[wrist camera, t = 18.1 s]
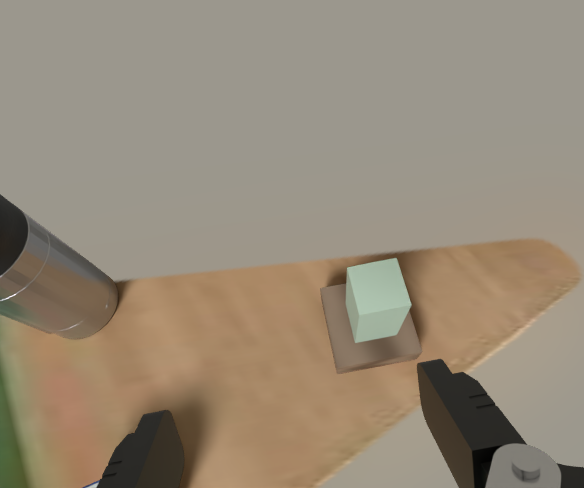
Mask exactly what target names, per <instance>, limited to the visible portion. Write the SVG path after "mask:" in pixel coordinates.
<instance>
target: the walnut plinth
mask: <svg viewBox="0 0 584 488" xmlns="http://www.w3.org/2000/svg"><path fill="white" fill-rule="evenodd" d="M320 291H321V299H322V304H323V309H324V314H325V319H326V323H327V328H328V333H329V338H330V342H331V347H332V352H333V357H334V361H335V366H336V371H337V374H342V373H347V372H352V371H357V370H363V369H368V368H373V367H378V366H384V365H389V364H394V363H400V362H405V361H410V360H415V359H417V357H418V356H419V355H420V354H421V353H422V349H421V346H420V343H419V340H418V337H417V333H416V330H415V327H414V324H413V321H412V317H411V314H410V311H408V313H407V315H406V317H405V319H404V321H403V323H402V325H401V327H400V329H399V331H398V333H397V335H394V336H389V337H384V338H379V339H374V340H369V341H363V342H358V343H355V341H354V336H353V332H352V328H351V324H350V320H349V316H348V312H347V307H346V283H345V284H340V285H335V286H329V287H324V288H320Z"/></svg>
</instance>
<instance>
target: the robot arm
mask: <svg viewBox="0 0 584 488" xmlns="http://www.w3.org/2000/svg"><path fill="white" fill-rule="evenodd" d="M117 302H118V290H117V287H116V285H115V283H114V281H113V280H112V279H111V278H110V277H109V276H107V275H106V274H105V273H103V272H102V271H101V270H99V269H98V268H97V267H96V266H94V265H93V264H92V263H90V262H89V261H88V260H86V259H85V258H84V257H83V256H81V255H80V254H78V253H77V252H76V251H75V250H73V249H72V248H71V247H69V246H68V245H67V244H65V243H64V242H62V241H61V240H60V239H59V238H57V237H56V236H55V235H53V234H52V233H51V232H49V231H48V230H47V229H45V228H44V227H43V226H41V225H40V224H39V223H37V222H36V221H35V220H33V219H32V218H31V217H29V216H28V215H27V214H25V213H24V212H23V211H21V210H20V209H19V208H18V207H16V206H15V205H13V204H12V203H11V202H9V201H8V200H7V199H5V198H4V197H3V196H2V195H0V314H1V315H3V316H6V317H8V318H11V319H13V320H16V321H18V322H21V323H23V324H26V325H28V326H31V327H33V328H36V329H38V330H41V331H43V332H46V333H54V334H57V335H59V336H62V337H64V338H68V339H81V338H85V337H88V336H90V335H93V334H94V333H96V332H97V331H99V330H100V329H101V328H102V327H104V326H105V325H106V324H107V322H108V321H109V320H110V319H111V317H112V315H113V314H114V312H115V309H116V306H117ZM417 373H418V382H419V390H420V399H421V406H422V411H423V414H424V417H425V420H426V422H427V425H428V427H429V429H430V431H431V433H432V435H433V437H434V439H435V441H436V443H437V445H438V447H439V449H440V451H441V453H442V455H443V457H444V459H445V461H446V463H447V465H448V467H449V468H450V471H451V473H452V475H453V477H454V479H455V481H456V483H457V485H458V486H459V488H584V468H583V467H573V466H566V465H562V464H557V463H556V462H555V461H554V460H553V459H552V458H551V457H550V456H549V455H547V454H546V453H545V452H543V451H541V450H540V449H538V448H535V447H533V446H530V445H527V444H526V443H525V441H524V440H523V439H522V438H521V436H520V435H519V434H518V432H517V431H516V430H515V428H514V427H513V426H512V425H511V423H510V422H509V421H508V419H507V418H506V417H505V416H504V414H503V413H502V412H501V410H500V409H499V408H498V407H497V406H495V403H494V402H493V400H492V399H491V398H490V396H488V395H487V393H486V391H485V390H484V389H483V387H482V386H481V385H480V383H479V382H478V381H477V380H475V379H473V378H472V377H470V376H469V375H467V374H465V373H464V372H460V373H455V374H452V373H451V371H450V370H449V368H448V367H447V365H446V364H445V363H444V361H443V360H442V359H437V360H432V361H427V362H421V363H418V364H417ZM183 468H184V451H183V446H182V443H181V440H180V438H179V435H178V432H177V429H176V426H175V423H174V420H173V417H172V414H171V412H170V411H169V410H164V411H158V412H153V413H148V414H144V415H143V416H142V418H141V420H140V422H139V425H138V427H137V429H136V431H135V433H132V434H128V435H127V436H126V437H125V438H124V439H123V441H122V442H121V443H120V444H119V445H118V446H117V447H116V448H115V450H114V452H113V454H112V456H111V458H110V461H109V463H108V466H107V467H106V469H105V471H104V473H103V475H102V479H100V481H99V483H98V485H97V487H96V488H179V484H180V480H181V476H182V472H183Z"/></svg>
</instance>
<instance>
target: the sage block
mask: <svg viewBox="0 0 584 488" xmlns="http://www.w3.org/2000/svg"><path fill="white" fill-rule="evenodd" d="M411 305H412V304H411V301H410V298H409V295H408V292H407V289H406V286H405V283H404V280H403V276H402V273H401V270H400V267H399V264H398V261H397V258H393V259H387V260H382V261H377V262H372V263H367V264H362V265H357V266H352V267H347V281H346V307H347V312H348V316H349V320H350V324H351V328H352V332H353V336H354V341H355V343H358V342H363V341H369V340H374V339H379V338H384V337H389V336H394V335H397V333H398V331H399V329H400V327H401V325H402V323H403V321H404V319H405V317H406V315H407V313H408V311H409V309H410V307H411Z"/></svg>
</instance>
